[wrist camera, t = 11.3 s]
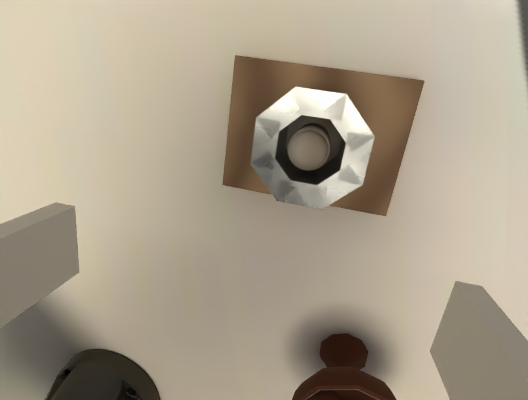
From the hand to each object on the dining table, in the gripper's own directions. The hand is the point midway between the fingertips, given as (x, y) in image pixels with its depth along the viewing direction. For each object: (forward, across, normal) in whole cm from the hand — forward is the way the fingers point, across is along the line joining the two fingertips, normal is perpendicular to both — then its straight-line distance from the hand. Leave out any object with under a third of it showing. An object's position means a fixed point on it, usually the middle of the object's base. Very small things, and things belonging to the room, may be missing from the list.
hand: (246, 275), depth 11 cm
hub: (+19, +1, +3) cm, 19 cm away
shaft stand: (+22, +1, +2) cm, 22 cm away
